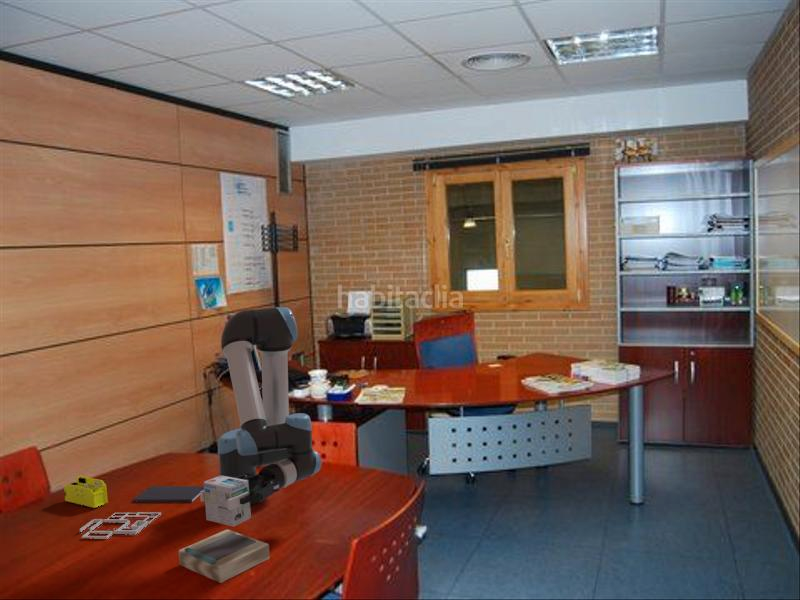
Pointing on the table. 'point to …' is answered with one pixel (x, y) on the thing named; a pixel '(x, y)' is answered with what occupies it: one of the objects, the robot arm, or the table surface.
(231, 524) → the light bulb box
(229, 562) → the dock
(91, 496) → the yellow toy chassis
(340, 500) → the table surface
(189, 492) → the notebook
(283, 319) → the robot arm
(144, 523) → the floor plan model
